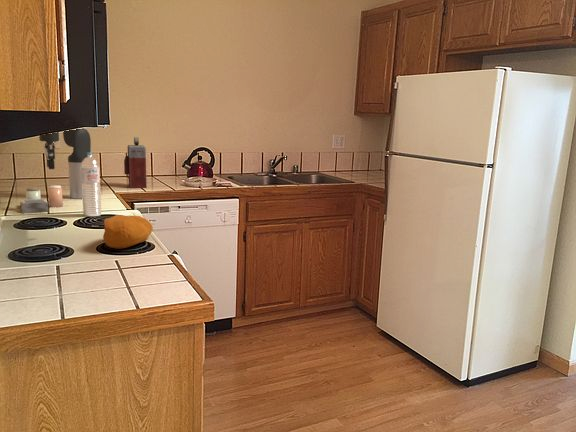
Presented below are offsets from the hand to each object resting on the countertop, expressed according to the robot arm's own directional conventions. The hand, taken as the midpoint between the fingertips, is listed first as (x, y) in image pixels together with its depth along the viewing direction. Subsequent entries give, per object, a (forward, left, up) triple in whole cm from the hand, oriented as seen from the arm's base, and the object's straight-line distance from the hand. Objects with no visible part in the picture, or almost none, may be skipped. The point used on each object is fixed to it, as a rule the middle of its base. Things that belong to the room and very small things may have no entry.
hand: (50, 168), depth 212 cm
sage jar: (+6, +7, -17) cm, 19 cm away
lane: (+7, +5, -17) cm, 18 cm away
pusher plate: (+5, +10, -16) cm, 20 cm away
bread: (-34, +71, -17) cm, 80 cm away
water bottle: (-18, +23, -17) cm, 33 cm away
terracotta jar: (-1, +1, -17) cm, 17 cm away
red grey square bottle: (-33, -59, -17) cm, 70 cm away
